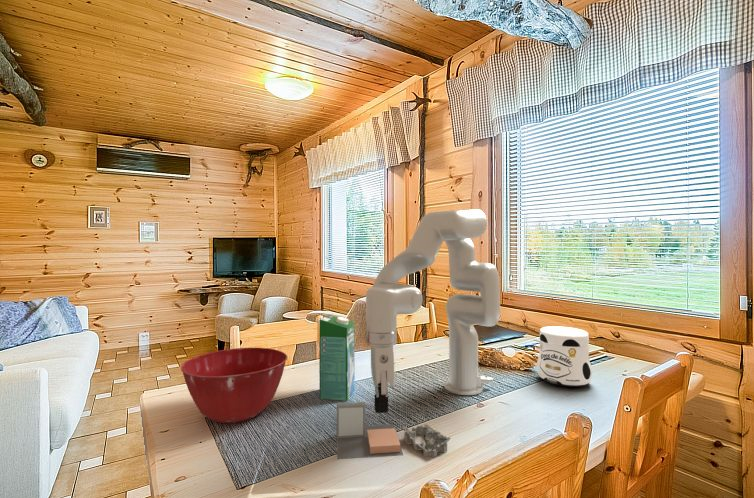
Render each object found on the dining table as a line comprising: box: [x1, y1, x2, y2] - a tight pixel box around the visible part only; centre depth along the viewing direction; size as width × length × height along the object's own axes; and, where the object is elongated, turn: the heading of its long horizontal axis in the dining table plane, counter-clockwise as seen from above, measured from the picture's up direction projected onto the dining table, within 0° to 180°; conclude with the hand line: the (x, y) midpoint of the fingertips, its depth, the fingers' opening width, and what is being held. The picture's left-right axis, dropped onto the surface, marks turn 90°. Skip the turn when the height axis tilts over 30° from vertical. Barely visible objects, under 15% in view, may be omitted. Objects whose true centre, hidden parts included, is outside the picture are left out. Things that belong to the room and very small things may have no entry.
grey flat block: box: [336, 401, 366, 439], centre depth 95 cm, size 7×2×8 cm, turn 97°
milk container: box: [536, 325, 593, 388], centre depth 134 cm, size 17×17×18 cm
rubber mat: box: [336, 423, 404, 460], centre depth 93 cm, size 15×15×1 cm
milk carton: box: [318, 314, 356, 402], centre depth 123 cm, size 9×9×25 cm
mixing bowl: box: [180, 347, 288, 424], centre depth 110 cm, size 28×28×16 cm
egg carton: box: [401, 424, 451, 458], centre depth 91 cm, size 11×8×4 cm
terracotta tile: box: [367, 427, 401, 454], centre depth 91 cm, size 7×2×8 cm
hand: (381, 411), depth 95 cm, fingers closed
